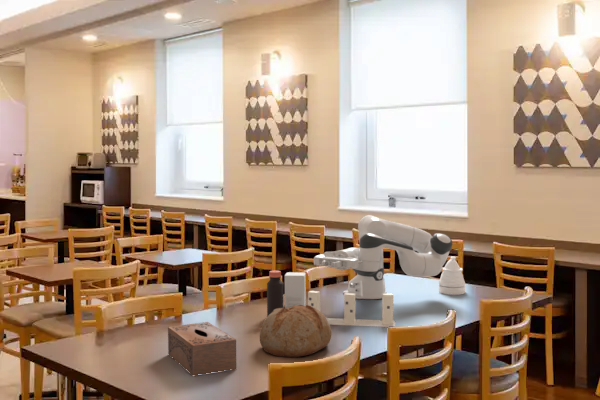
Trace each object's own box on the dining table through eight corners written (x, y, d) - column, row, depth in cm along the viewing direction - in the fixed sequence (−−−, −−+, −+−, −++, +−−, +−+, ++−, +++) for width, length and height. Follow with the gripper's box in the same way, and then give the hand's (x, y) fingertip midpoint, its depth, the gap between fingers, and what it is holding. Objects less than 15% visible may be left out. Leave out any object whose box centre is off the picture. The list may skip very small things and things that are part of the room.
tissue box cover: (236, 370, 214) (236, 339, 213) (193, 377, 207) (192, 345, 206) (208, 349, 236) (207, 321, 236) (168, 355, 229) (167, 326, 229)
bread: (295, 334, 255) (295, 296, 254) (345, 345, 240) (345, 304, 239) (247, 350, 235) (246, 308, 234) (297, 363, 220) (297, 318, 219)
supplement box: (306, 304, 307) (306, 272, 306) (304, 308, 298) (304, 275, 297) (286, 304, 308) (286, 271, 307) (284, 308, 299) (284, 275, 298)
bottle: (269, 321, 276) (268, 273, 274) (265, 317, 282) (265, 270, 281) (285, 320, 278) (285, 272, 276) (281, 316, 284) (281, 269, 283)
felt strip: (305, 324, 271) (305, 323, 270) (308, 318, 280) (308, 317, 280) (394, 328, 264) (394, 327, 264) (395, 321, 274) (395, 320, 274)
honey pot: (467, 294, 328) (468, 258, 327) (441, 294, 328) (441, 258, 327) (461, 289, 341) (462, 254, 339) (436, 289, 341) (436, 254, 340)
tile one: (382, 322, 271) (382, 293, 270) (392, 322, 271) (392, 293, 270) (383, 324, 268) (383, 295, 267) (393, 324, 268) (393, 295, 267)
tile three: (311, 319, 277) (311, 290, 276) (320, 320, 275) (320, 291, 274) (307, 320, 274) (307, 292, 274) (316, 322, 272) (316, 293, 272)
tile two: (345, 322, 272) (345, 293, 272) (355, 322, 271) (355, 293, 271) (344, 324, 269) (344, 294, 268) (353, 324, 268) (354, 295, 267)
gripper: (364, 269, 291) (350, 273, 279) (322, 265, 301) (307, 269, 289) (364, 254, 290) (350, 258, 278) (322, 251, 301) (307, 255, 289)
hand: (328, 264), depth 284 cm, fingers open, 3 cm apart
